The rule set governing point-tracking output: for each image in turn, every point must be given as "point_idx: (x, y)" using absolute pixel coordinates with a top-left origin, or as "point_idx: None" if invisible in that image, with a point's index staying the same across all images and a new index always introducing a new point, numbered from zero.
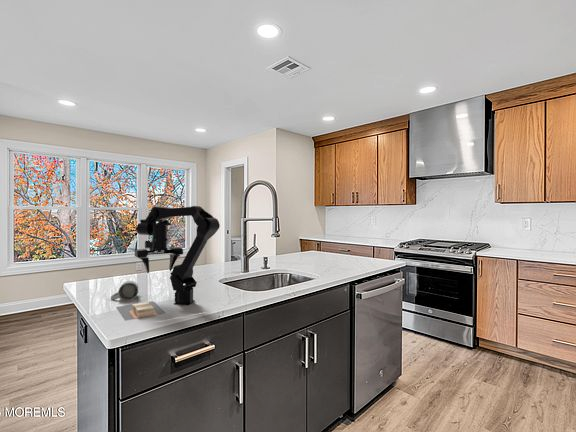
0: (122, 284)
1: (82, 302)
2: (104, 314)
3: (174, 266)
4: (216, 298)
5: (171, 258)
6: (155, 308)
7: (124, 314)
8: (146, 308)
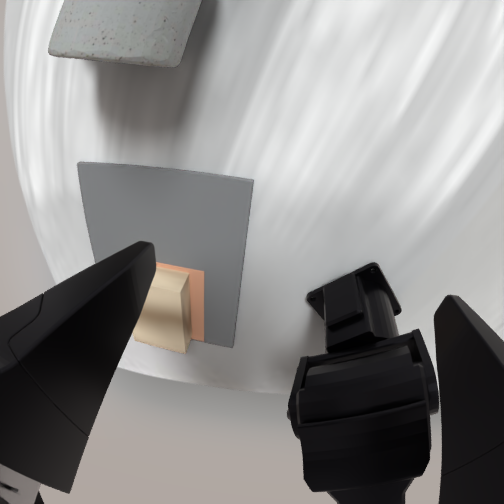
0: (55, 24)
1: (8, 11)
2: (54, 216)
3: (309, 487)
4: None
5: (488, 468)
6: (216, 293)
7: None
8: (161, 344)
